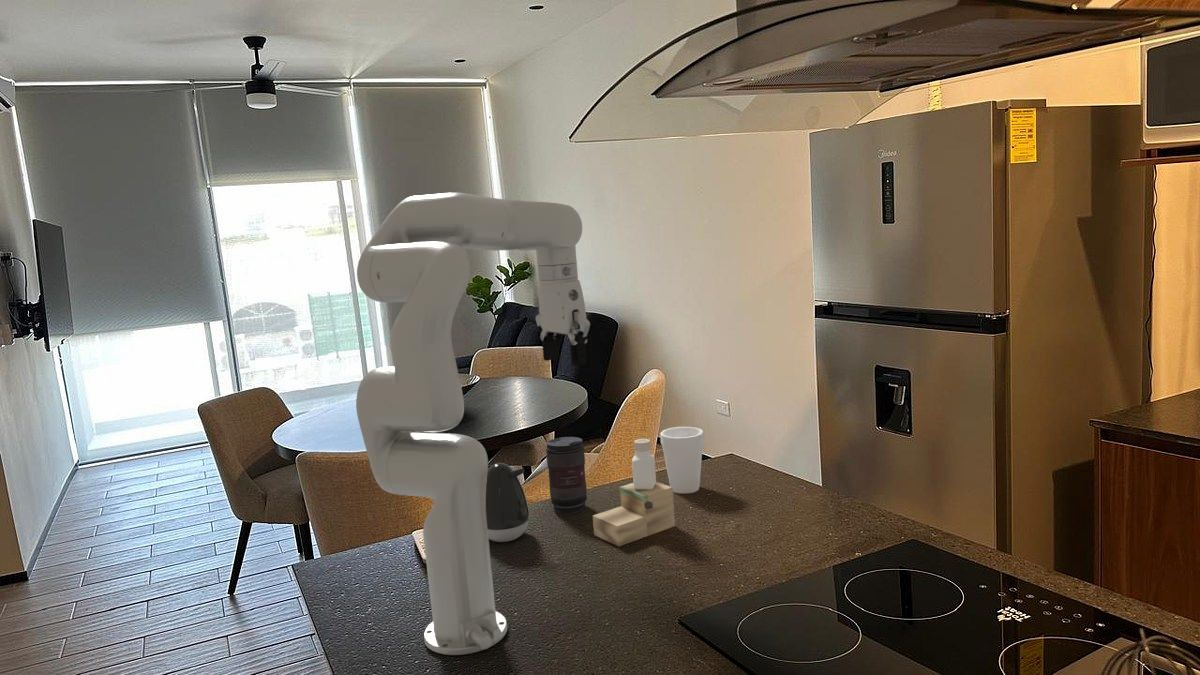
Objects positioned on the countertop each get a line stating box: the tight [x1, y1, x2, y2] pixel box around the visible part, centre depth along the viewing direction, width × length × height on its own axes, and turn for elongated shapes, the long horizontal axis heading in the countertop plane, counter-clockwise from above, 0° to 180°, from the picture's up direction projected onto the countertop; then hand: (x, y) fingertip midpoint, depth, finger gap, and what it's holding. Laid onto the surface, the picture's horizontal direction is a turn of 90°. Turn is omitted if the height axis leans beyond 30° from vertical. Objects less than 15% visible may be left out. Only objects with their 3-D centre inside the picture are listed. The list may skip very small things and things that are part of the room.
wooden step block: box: [592, 481, 676, 547], centre depth 163 cm, size 9×14×8 cm, turn 126°
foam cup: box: [659, 426, 705, 495], centre depth 185 cm, size 10×9×13 cm
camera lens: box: [545, 436, 588, 515], centre depth 178 cm, size 8×8×15 cm
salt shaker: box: [631, 438, 657, 490], centre depth 164 cm, size 4×4×10 cm
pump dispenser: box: [486, 462, 531, 543], centre depth 165 cm, size 10×10×15 cm
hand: (564, 362), depth 161 cm, fingers open, 9 cm apart
